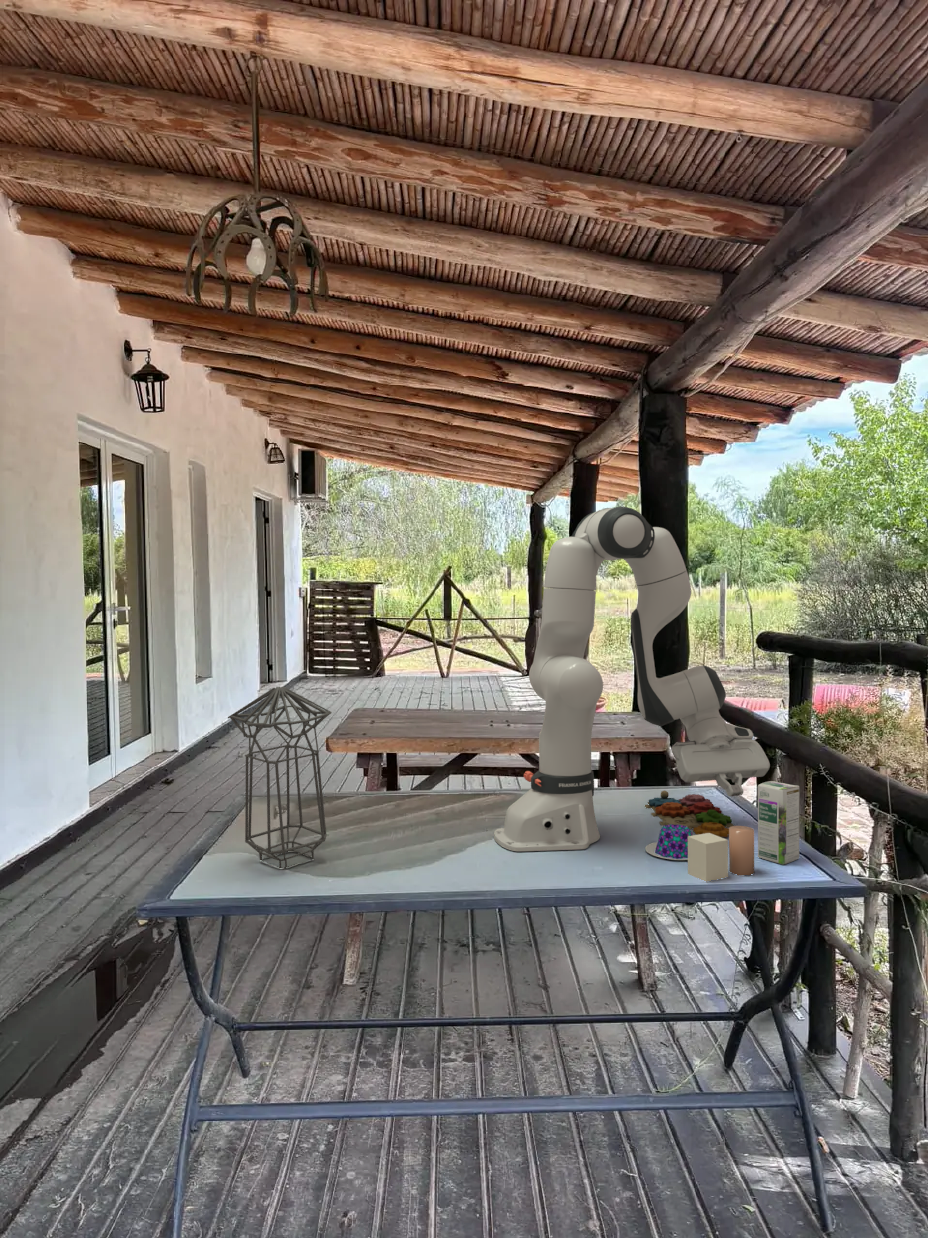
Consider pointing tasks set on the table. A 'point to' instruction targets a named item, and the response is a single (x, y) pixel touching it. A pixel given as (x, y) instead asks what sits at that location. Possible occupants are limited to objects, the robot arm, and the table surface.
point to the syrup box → (778, 822)
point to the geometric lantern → (274, 695)
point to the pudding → (671, 842)
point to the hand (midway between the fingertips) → (736, 794)
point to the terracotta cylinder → (741, 850)
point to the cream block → (707, 857)
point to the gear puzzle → (691, 814)
